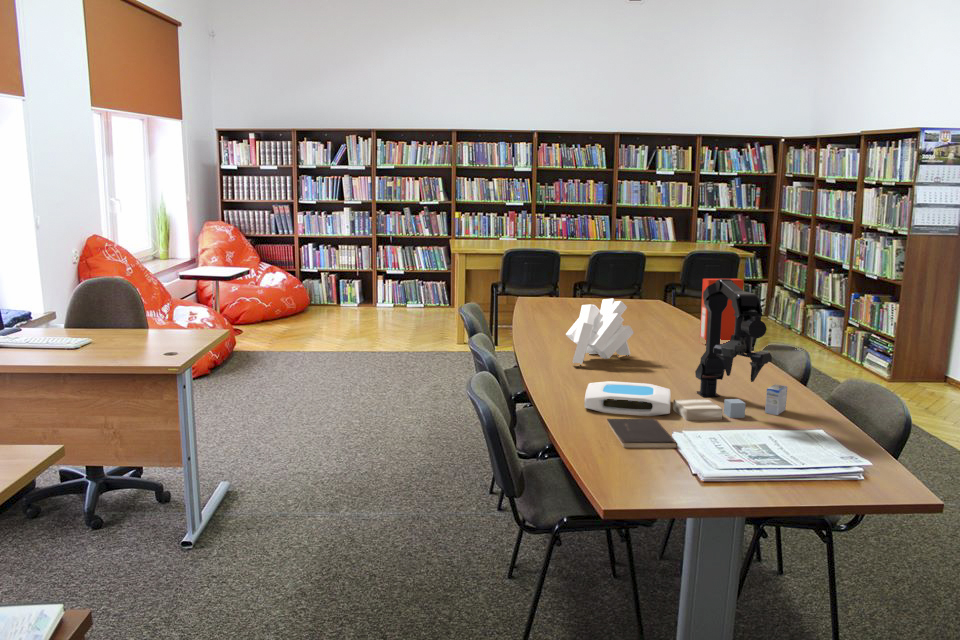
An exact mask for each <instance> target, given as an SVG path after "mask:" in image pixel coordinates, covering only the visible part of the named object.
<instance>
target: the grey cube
mask: <svg viewBox="0 0 960 640" xmlns="http://www.w3.org/2000/svg"><path fill="white" fill-rule="evenodd" d="M723 403H724V404H723V414H724V416H727V417H728V418H730V419H735V418H736V419H740V418H745V417H746V402H744V401H743V400H742V399H740V398H729V399H728V398H727V399H726V398H724V401H723Z"/></svg>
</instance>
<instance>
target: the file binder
mask: <svg viewBox="0 0 960 640" xmlns="http://www.w3.org/2000/svg"><path fill="white" fill-rule="evenodd" d="M719 279H720V278H702V286H701V287H702V288H701V290H702V291H701V308H700V323H699V324H700V325H699V338H700V337H702V338H704V339H705V340H707V323H708V310H707V308H706V307H705V305H704V299H703V292H704V290H705V289H706V288H707V287H708V286H709V285H711V284H713V283H715V282H716V281H717V280H719ZM729 279H730V280H733V283H734V284H736V285H737V286H738V287H739V288H741V289H742V290H743V291H744V279H740V278H729ZM734 313H735V311H734V308H733V307H732V301H731V300H730V299H729V300H728V303H727V307H726V308H725V309H724V311H723V312H722V321H721V337H720V339H721V340H731V336H732V335H734V329H735V316H734Z"/></svg>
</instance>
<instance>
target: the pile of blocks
mask: <svg viewBox="0 0 960 640" xmlns="http://www.w3.org/2000/svg"><path fill="white" fill-rule="evenodd" d="M600 305H601V306H600V309H599V307H597V305H596V304H593V303H590V304H582V305H581V308H580V311H579V317H578V318H577V319H576V320H575V322H574V323H572V326H571V327H570V328H569V329H568V331H567V332H565V336H566V337H567V338H568V339H570V341H573V343H574V344H576V348H575V352H574V354H573V358H572V361H571V363H572V362H573V363H580V364H582V362H583V363H584V360H585V357H586V354H587V353H589V354H598V355H599V357H600V358H601V359H602V358H604V359H605V360H609V359H610V358H611V357H612V356H614V354H615V353H616V355H617V354H619V355H627V357H629V356H628V355H630V354H631V350H630V346H629V343H628V340H629V339H630V338H631V336H632V335H634V334H635V332H634V330H633V328H632V327H631V326H630V325H623V322H624V321H625V319H624V318H623V317H622V315H623V314H624V312H625V311H626V310H627V309H628V305H626V304H625V303H624V302H623V301H622V300H617V301H616V300H615V299H614V298H613V297H612V298H604V299H602V301H601V304H600ZM589 354H588V355H589ZM631 355H632V354H631ZM631 355H630V356H631ZM582 365H583V364H582Z"/></svg>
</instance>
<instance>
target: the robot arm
mask: <svg viewBox="0 0 960 640" xmlns="http://www.w3.org/2000/svg"><path fill="white" fill-rule="evenodd" d="M718 279H719V280H717V281H716V282H715V283H713V284H711V285H709V286H708V287H707V288H706V289H705V290H704V292H703V299H704V305H705V307H706V308H707V310H708V323H707V340H706V345H705V352H704V353H703V354H702V356H701V357H700V362H699V364H698V366H697V368H696V370H695V378H697V379H698V380H700V386H699V387H700V388H699V390H697V391H695V392H697V393H696V394H698V393H699V394H700V395H699V394H698V395H699V396H701V397H702V396H703V398H711V397H714V398H715V397H716V398H717V397H718V396H719V397H721V394H719V393H717V386H718V380H724V375H725V374H726V376H727V377H730V376H731V372H732V368H733V362H734V358H736V357H737V356H739V357H745V358H748V359H749V358H750V360H751V361H750V362H749V365H750V366H751V370H750V382H751V383H754V381H755V380H756V379H757V377H758V375H759V373H760V371H761V370H762V369H763V367H764V366H765V365H766V364H768V363H771V362H772V360H773V356H772V353H771V352H767V351H762V350H759V351H755V347H753V340H754V339H760V338H762V337H763V336H764V335H766V333H767V325H766V323H765V322H764V321H762V317H763V312H764V310H763V308H762V305H761V302H760V299H759V297H758V295H757V294H756V293H753V292H749V291H744V289H743V290H742V289H741V288H739V287H738V286H737V285H736V284H734V283H733V280H730V279H731V278H718ZM729 299H730V300H731V301H732V307H733V308H734V311H735V313H734V316H735V329H734V335H732V336H731V340H730V341H728V342H726V343H723V344H720V337H721V321H722V312H723V311H724V309H725V308H726V307H727V303H728V300H729Z"/></svg>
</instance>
